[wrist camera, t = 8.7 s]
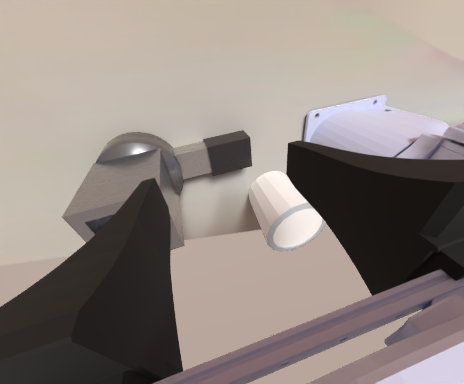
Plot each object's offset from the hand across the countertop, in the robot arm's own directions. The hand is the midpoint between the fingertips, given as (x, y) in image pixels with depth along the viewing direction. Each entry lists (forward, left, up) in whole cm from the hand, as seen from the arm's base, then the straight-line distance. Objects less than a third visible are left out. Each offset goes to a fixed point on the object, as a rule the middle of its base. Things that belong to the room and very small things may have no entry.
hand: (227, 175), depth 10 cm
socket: (+6, +3, -7) cm, 10 cm away
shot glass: (-7, +10, -10) cm, 15 cm away
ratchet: (+3, +3, -9) cm, 10 cm away
